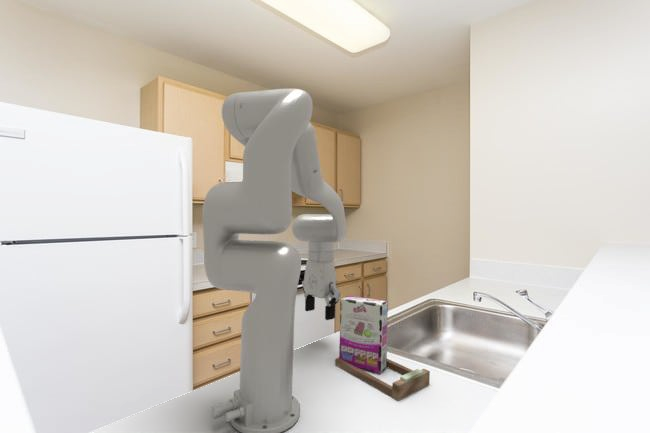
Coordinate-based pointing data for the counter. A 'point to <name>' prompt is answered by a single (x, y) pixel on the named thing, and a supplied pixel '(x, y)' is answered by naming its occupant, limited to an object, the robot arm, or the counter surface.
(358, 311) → the candy bar box
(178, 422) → the counter surface
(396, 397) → the wooden box holder
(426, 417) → the counter surface
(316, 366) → the counter surface
